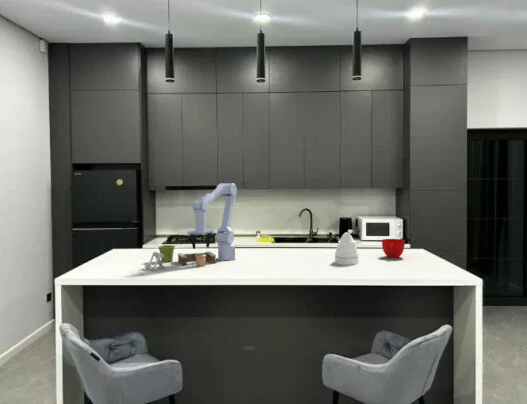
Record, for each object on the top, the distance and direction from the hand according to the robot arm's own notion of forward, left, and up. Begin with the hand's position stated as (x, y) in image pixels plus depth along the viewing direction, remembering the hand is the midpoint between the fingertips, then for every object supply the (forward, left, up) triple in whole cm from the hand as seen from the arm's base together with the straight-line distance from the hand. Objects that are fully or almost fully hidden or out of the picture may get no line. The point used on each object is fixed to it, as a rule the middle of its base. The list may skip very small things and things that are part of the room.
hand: (200, 247), depth 243 cm
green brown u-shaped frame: (0, -8, -9) cm, 12 cm away
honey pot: (-77, +23, -10) cm, 81 cm away
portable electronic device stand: (+24, +1, -10) cm, 26 cm away
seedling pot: (+1, +2, -9) cm, 10 cm away
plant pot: (+15, -18, -10) cm, 26 cm away
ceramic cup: (-110, +20, -10) cm, 112 cm away
